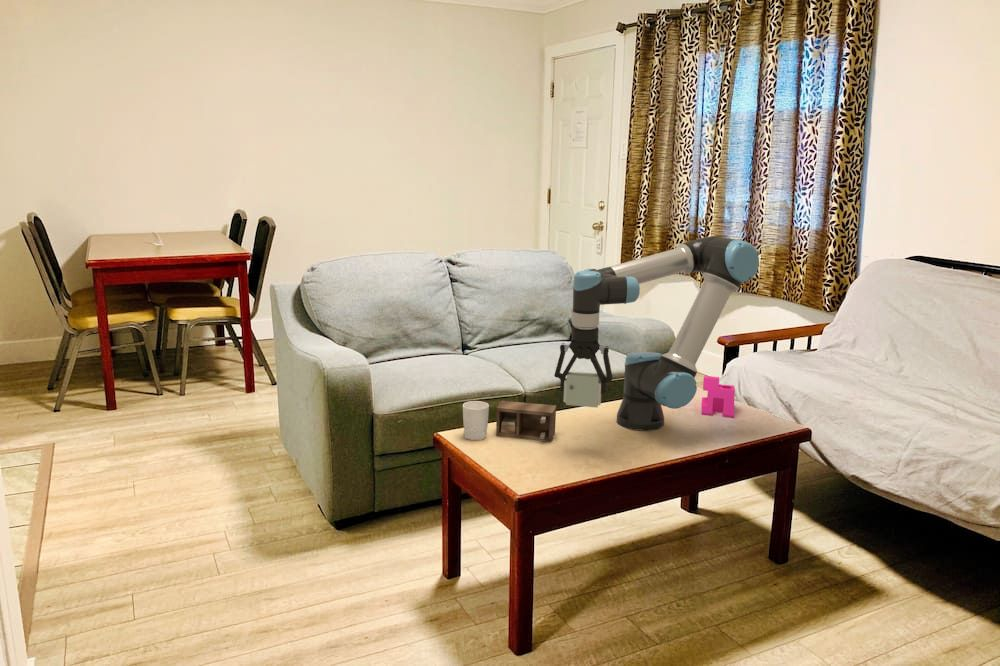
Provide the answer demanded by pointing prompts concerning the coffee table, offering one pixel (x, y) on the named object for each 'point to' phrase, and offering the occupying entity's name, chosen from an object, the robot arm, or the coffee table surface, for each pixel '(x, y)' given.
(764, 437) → the coffee table surface
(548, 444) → the coffee table surface
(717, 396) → the pink notched block
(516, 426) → the walnut cabinet
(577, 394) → the sage door
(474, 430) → the white cup
